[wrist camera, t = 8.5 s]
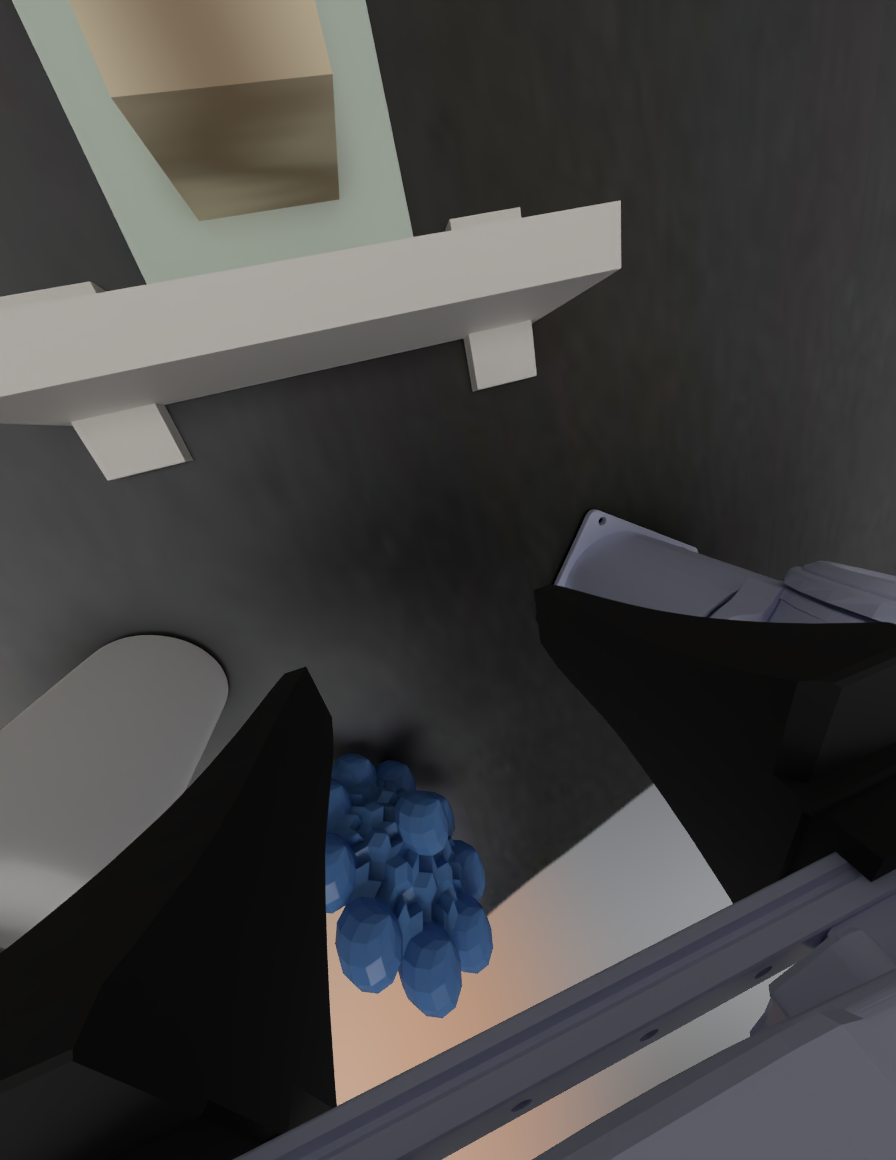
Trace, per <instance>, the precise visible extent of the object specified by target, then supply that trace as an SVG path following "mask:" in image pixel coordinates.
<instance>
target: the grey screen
mask: <svg viewBox="0 0 896 1160" xmlns="http://www.w3.org/2000/svg"><path fill="white" fill-rule="evenodd" d="M619 269H621V200H620V201H615V202H609V203H604V204H598V205H592V206H587V207H581V208H575V209H570V210H564V211H558V212H553V213H547V214H542V215H536V216H530V217H525V218H521V212H520V207H518V208H512V209H507V210H501V211H495V212H489V213H484V214H478V215H472V216H466V217H460V218H455V219H450V220H449V222H448V224H447V227H446V229H445V232H440V233H434V234H429V235H423V236H418V237H412V238H406V239H401V240H395V241H389V242H384V243H378V244H372V245H367V246H361V247H356V248H350V249H344V250H339V251H333V252H327V253H322V254H316V255H310V256H305V257H299V258H293V259H288V260H282V261H277V262H271V263H265V264H260V265H254V266H248V267H243V268H237V269H231V270H226V271H220V272H215V273H209V274H203V275H198V276H192V277H186V278H181V279H175V280H169V281H164V282H158V283H153V284H147V285H141V286H136V287H130V288H124V289H119V290H113V291H107V292H106V291H105V290H104V289H102V288H100V287H99V286H97V285H95V284H94V283H92V282H84V283H78V284H72V285H67V286H61V287H55V288H49V289H43V290H38V291H32V292H26V293H20V294H14V295H9V296H3V297H0V423H3V424H32V425H62V426H73V427H74V429H75V430H76V432H77V433H78V435H79V436H80V438H81V440H82V441H83V443H84V444H85V446H86V447H87V449H88V451H89V452H90V454H91V455H92V457H93V458H94V460H95V462H96V463H97V465H98V466H99V468H100V469H101V471H102V473H103V474H104V476H105V477H106V479H107V480H113V479H119V478H123V477H127V476H131V475H135V474H139V473H144V472H148V471H152V470H156V469H160V468H164V467H168V466H172V465H176V464H180V463H184V462H188V461H192V460H193V459H192V457H191V455H190V453H189V451H188V449H187V447H186V445H185V443H184V441H183V439H182V437H181V435H180V434H179V432H178V430H177V428H176V426H175V424H174V422H173V420H172V418H171V416H170V414H169V412H168V410H167V409H166V407H165V405H167V404H172V403H176V402H181V401H185V400H190V399H194V398H199V397H203V396H207V395H212V394H216V393H221V392H225V391H230V390H234V389H239V388H243V387H248V386H252V385H257V384H261V383H266V382H270V381H275V380H279V379H284V378H288V377H293V376H297V375H302V374H306V373H311V372H315V371H320V370H324V369H329V368H333V367H338V366H342V365H347V364H351V363H356V362H360V361H365V360H369V359H374V358H378V357H383V356H387V355H392V354H396V353H401V352H405V351H410V350H414V349H419V348H423V347H428V346H432V345H437V344H441V343H446V342H450V341H455V340H459V339H464V345H465V350H466V356H467V362H468V368H469V374H470V380H471V385H472V391H473V392H474V391H478V390H482V389H486V388H490V387H494V386H498V385H502V384H506V383H510V382H514V381H518V380H522V379H527V378H530V377H533V376H536V375H537V374H536V364H535V353H534V343H533V333H532V323H534V322H536V321H537V320H539V319H540V318H542V317H544V316H545V315H547V314H548V313H550V312H552V311H553V310H555V309H556V308H558V307H560V306H561V305H563V304H564V303H566V302H568V301H569V300H571V299H572V298H574V297H576V296H577V295H579V294H580V293H582V292H584V291H585V290H587V289H589V288H590V287H592V286H593V285H595V284H597V283H598V282H600V281H601V280H603V279H605V278H606V277H608V276H609V275H611V274H613V273H614V272H616V271H617V270H619Z"/></svg>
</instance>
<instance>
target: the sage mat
mask: <svg viewBox="0 0 896 1160" xmlns="http://www.w3.org/2000/svg"><path fill="white" fill-rule="evenodd" d="M12 2H13V4H14V6H15V8H16V10H17V12H18V14H19V16H20V18H21V21H22V23H23V25H24V27H25V29H26V31H27V33H28V35H29V37H30V39H31V42H32V44H33V46H34V48H35V50H36V52H37V54H38V56H39V58H40V60H41V63H42V65H43V67H44V69H45V71H46V73H47V75H48V77H49V79H50V82H51V84H52V86H53V88H54V90H55V92H56V94H57V96H58V98H59V100H60V103H61V105H62V107H63V109H64V111H65V113H66V115H67V117H68V119H69V122H70V124H71V126H72V128H73V130H74V132H75V134H76V136H77V138H78V140H79V143H80V145H81V147H82V149H83V151H84V153H85V155H86V157H87V159H88V161H89V164H90V166H91V168H92V170H93V172H94V174H95V176H96V178H97V180H98V183H99V185H100V187H101V189H102V191H103V193H104V195H105V197H106V199H107V201H108V204H109V206H110V208H111V210H112V212H113V214H114V216H115V218H116V220H117V222H118V225H119V227H120V229H121V231H122V233H123V235H124V237H125V239H126V241H127V244H128V246H129V248H130V250H131V252H132V254H133V256H134V258H135V260H136V262H137V265H138V267H139V269H140V271H141V273H142V275H143V277H144V279H145V281H146V283H147V284H153V283H158V282H164V281H169V280H175V279H181V278H186V277H192V276H198V275H203V274H209V273H215V272H220V271H226V270H231V269H237V268H243V267H248V266H254V265H260V264H265V263H271V262H277V261H282V260H288V259H293V258H299V257H305V256H310V255H316V254H322V253H327V252H333V251H339V250H344V249H350V248H356V247H361V246H367V245H372V244H378V243H384V242H389V241H395V240H401V239H406V238H412V237H413V233H412V228H411V223H410V218H409V213H408V208H407V203H406V199H405V194H404V189H403V184H402V179H401V174H400V169H399V164H398V159H397V154H396V149H395V144H394V139H393V134H392V129H391V124H390V119H389V115H388V110H387V105H386V100H385V95H384V90H383V85H382V80H381V75H380V70H379V65H378V60H377V55H376V50H375V45H374V40H373V36H372V31H371V26H370V21H369V16H368V11H367V6H366V1H365V0H315V3H316V7H317V11H318V15H319V20H320V24H321V28H322V32H323V36H324V40H325V44H326V49H327V53H328V57H329V61H330V65H331V69H332V73H333V90H334V108H335V127H336V145H337V163H338V181H339V200H332V201H326V202H319V203H313V204H307V205H300V206H294V207H287V208H281V209H275V210H268V211H262V212H255V213H249V214H243V215H236V216H230V217H223V218H217V219H211V220H204V221H199V220H198V219H197V217H196V216H195V214H194V213H193V212H192V210H191V209H190V207H189V206H188V205H187V203H186V202H185V200H184V199H183V198H182V196H181V195H180V193H179V192H178V191H177V189H176V188H175V186H174V185H173V184H172V182H171V181H170V179H169V178H168V177H167V175H166V174H165V172H164V171H163V170H162V168H161V167H160V165H159V164H158V163H157V161H156V160H155V159H154V157H153V156H152V154H151V153H150V152H149V150H148V149H147V147H146V146H145V145H144V143H143V142H142V140H141V139H140V138H139V136H138V135H137V133H136V132H135V131H134V129H133V128H132V126H131V125H130V124H129V122H128V121H127V119H126V118H125V117H124V115H123V114H122V112H121V111H120V110H119V108H118V107H117V105H116V104H115V103H114V101H113V100H112V98H111V97H110V94H109V92H108V90H107V87H106V85H105V83H104V80H103V78H102V76H101V73H100V71H99V69H98V66H97V64H96V62H95V59H94V57H93V55H92V52H91V50H90V48H89V46H88V43H87V41H86V39H85V36H84V34H83V32H82V29H81V27H80V25H79V22H78V20H77V18H76V15H75V13H74V11H73V8H72V6H71V4H70V1H69V0H12Z"/></svg>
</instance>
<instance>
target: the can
mask: <svg viewBox="0 0 896 1160" xmlns="http://www.w3.org/2000/svg"><path fill="white" fill-rule="evenodd" d="M227 696H228V682H227V678H226V675H225V673H224V671H223V669H222V668H221V666H220V665H219V664H218V662H217V661H216V660H215V659H214V658H213V657H212V656H211V655H209V654H208V653H207V652H206V651H204V650H203V649H201V648H199V647H198V646H196V645H194V644H192V643H189V642H187V641H184V640H181V639H177V638H172V637H167V636H160V635H139V636H131V637H126V638H122V639H119V640H116V641H114V642H111V643H109V644H107V645H105V646H103V647H102V648H100V649H99V650H97V651H96V652H95V653H93V654H92V655H91V656H89V657H88V658H87V659H86V660H84V661H83V662H82V663H81V664H80V665H78V666H77V667H76V668H75V669H73V670H72V671H71V672H70V673H69V674H67V675H66V676H65V677H64V678H63V679H61V680H60V681H59V682H58V683H57V684H55V685H54V686H53V687H52V688H51V689H49V690H48V691H47V692H46V693H45V694H43V695H42V696H41V697H40V698H39V699H37V700H36V701H35V702H34V703H33V704H31V705H30V706H29V707H28V708H27V709H25V710H24V711H23V712H22V713H21V714H19V715H18V716H17V717H16V718H15V719H13V720H12V721H11V722H10V723H9V724H7V725H6V726H5V727H4V728H3V729H1V730H0V953H1V952H2V951H4V950H5V949H6V948H8V947H9V946H10V945H12V944H13V943H14V942H15V941H17V940H18V939H19V938H20V937H22V936H23V935H24V934H25V933H27V932H28V931H29V930H30V929H32V928H33V927H34V926H35V925H37V924H38V923H39V922H40V921H42V920H43V919H44V918H45V917H46V916H48V915H49V914H50V913H51V912H52V911H54V910H55V909H56V908H57V907H58V906H60V905H61V904H62V903H63V902H65V901H66V900H67V899H68V898H69V897H71V896H72V895H73V894H74V893H75V892H77V891H78V890H79V889H80V888H81V887H82V886H84V885H85V884H86V883H87V882H88V881H89V880H91V879H92V878H93V877H94V876H95V875H96V874H98V873H99V872H100V871H101V870H102V869H103V868H104V867H106V866H107V865H108V864H109V863H110V862H111V861H112V860H113V859H115V858H116V857H117V856H118V855H119V854H120V853H121V852H122V851H123V850H124V849H125V848H126V847H128V846H129V845H130V844H131V843H132V842H133V841H134V840H135V839H136V838H137V837H138V836H139V835H141V834H142V833H143V832H144V831H145V830H146V829H147V828H148V827H149V826H150V825H151V824H152V823H154V822H155V821H156V820H157V819H158V818H159V817H160V816H161V815H162V814H163V813H164V812H165V811H166V810H167V809H168V808H169V807H170V806H171V805H172V804H173V803H174V802H175V801H176V800H177V799H178V798H179V797H180V796H181V795H182V794H183V793H184V792H185V789H186V787H187V785H188V783H189V781H190V779H191V777H192V775H193V772H194V770H195V768H196V766H197V764H198V762H199V760H200V758H201V755H202V753H203V751H204V749H205V747H206V745H207V743H208V740H209V738H210V736H211V734H212V732H213V730H214V728H215V725H216V723H217V721H218V719H219V717H220V715H221V712H222V710H223V708H224V705H225V703H226V700H227Z"/></svg>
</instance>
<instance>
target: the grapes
mask: <svg viewBox="0 0 896 1160" xmlns="http://www.w3.org/2000/svg"><path fill="white" fill-rule="evenodd" d="M454 829H455V826H454V815H453V812H452V809H451V806H450V804H449V802H448V800H447V799H446V798H445V797H443V796H442V795H439V794H437V793H435V792H427V791H417V790H416V784H415V781H414V778H413V775H412V773H411V771H410V769H409V768H408V767H407V766H406V765H405V764H403V763H401V762H398V761H392V760H386V761H384V762H382V763H380V764H378V765H377V767H376V769H375V767H374V766H373V764H372V763H371V761H370V760H369V759H368V758H366V757H364V756H362V755H360V754H351V753H348V754H346V755H343V756H341V757H339V758H338V759H337V761H336V762H335V764H334V765H333V767H332V775H331V786H330V797H329V808H328V819H327V830H326V849H325V883H326V913H334V912H335V911H337V910H338V909H340V908H342V907H343V906H345V905H346V906H345V908H344V910H343V912H342V914H341V916H340V918H339V920H338V922H337V930H336V931H337V932H336V942H335V944H336V948H337V952H338V956H339V960H340V963H341V967H342V970H343V973H344V974H345V976H346V977H347V978H348V979H349V980H350V981H352V983H353V984H355V985H356V986H357V987H358V988H359V989H360V990H361V991H363V992H370V993H377V994H378V993H380V992H381V991H382V990H383V989H385V988H386V987H388V986H389V985H390V984H392V983H393V981H394V979H395V976H396V973H397V971H398V972H399V975H400V979H401V982H402V985H403V988H404V990H405V993H406V995H407V997H408V999H409V1000H410V1001H411V1002H412V1003H413V1004H414V1005H415V1006H416V1007H417V1008H418V1009H420V1010H421V1011H422V1012H423V1013H424V1014H425V1015H426V1016H431V1017H438V1018H443V1017H444V1016H446V1015H447V1014H448V1013H449V1012H450V1011H451V1010H453V1009H454V1008H455V1007H456V1004H457V1001H458V997H459V994H460V991H461V987H462V980H461V970H462V971H463V972H469V973H479V972H480V971H481V970H482V969H484V968H485V967H486V966H487V965H488V964H489V960H490V957H491V953H492V949H493V944H492V933H491V927H490V924H489V921H488V918H487V915H486V912H485V911H484V909H483V907H482V906H481V905H480V904H479V902H478V901H477V900H478V899H480V898H481V897H482V894H483V890H484V887H485V874H484V868H483V865H482V862H481V859H480V856H479V855H478V853H477V851H476V850H475V849H474V848H473V847H472V846H471V845H469V844H467V843H465V842H463V841H461V840H452V839H451V837H452V834H453V832H454Z"/></svg>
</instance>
